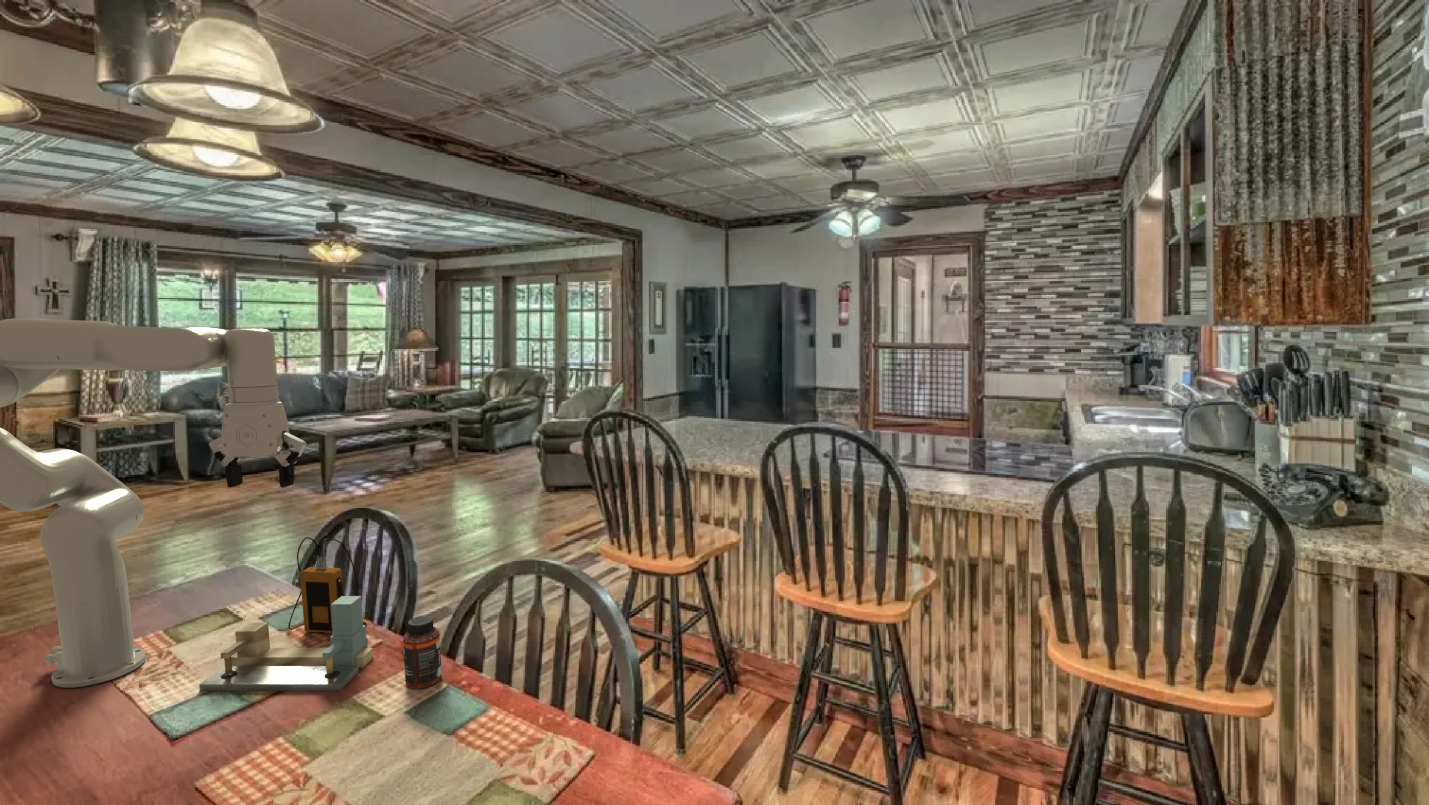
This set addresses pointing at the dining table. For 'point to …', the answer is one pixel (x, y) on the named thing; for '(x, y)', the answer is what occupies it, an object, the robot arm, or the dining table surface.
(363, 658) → the trammel rail
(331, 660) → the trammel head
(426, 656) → the supplement bottle
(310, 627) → the multimeter
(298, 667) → the flange plate
